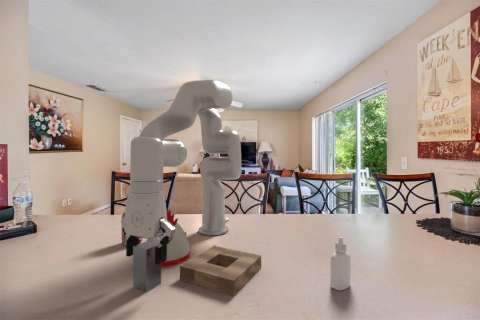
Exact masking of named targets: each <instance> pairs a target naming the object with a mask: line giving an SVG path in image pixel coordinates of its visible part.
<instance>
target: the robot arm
mask: <svg viewBox="0 0 480 320" xmlns="http://www.w3.org/2000/svg"><path fill="white" fill-rule="evenodd" d="M232 103H233V91H232V90H231V88H230V87H229V86H228V85H227V84H225V83H223V82H221V81H218V80H216V79H215V80H214V79H204V80H202V79H201V80H191V81H186V82H184V83H183V84H182V85H181V86H180V87H179V89H178V91H177V92H176V95H175V97H174V99H173V101H172V103H171V105H170V106H169V108H168V109H167V110H166V111H165V112H163V113H161V114H160V115H159V116H156V118H154V119H153V120H151V121H150V122H149V123H147V124H146V125H145V127H144V128H143V129H142V131H141V132H140V134H139V136H137V137H133V138H132V139H131V141H130V151H129V152H130V155H129V156H130V157H129V158H130V159H129V161H130V162H129V163H130V165H129V166H130V167H129V168H130V169H129V170H130V171H129V172H130V173H129V180H130V181H129V182H130V183H129V193H128V194H127V199H126V203H125V210H124V211H125V218H124V219H123V220H122V219H121V220H120V223H121V227H123V232H124V234H125V240H127V241H126V245H125V247H126V249H125V250H126V251H125V255H126V257H128V258H129V257H133V246H136V245H138V244H140V243H139V237H141V238H142V239H146V240H148V239H151V238H153V239H154V241H155V243H156V245H157V247H155V264H156V265H158V264H160V263H162V262H164V261H166V260H167V244H169V242H170V241H171V240H172V238H173V237H172V236H173V235H174V232H175V228H174V227H173V226H172V225H171V224H170V223H168V222H167V213H168V210H167V211H166V209H167V203H166V197H165V193H164V168H167V167H168V168H175V167H179V166H181V165H182V164H184V163H185V161H186V159H187V156H188V150H187V147H186V145H185V144H184V143H183V142H182V141H180V140H179V139H174V138H173V139H172V138H170V139H168V137H169V136H171V135H172V136H173V135H175V134H177V133H180V132H182V131H186V130H187V129H189V128H191V127H192V126H193V125H194V124H195V121H196V119H197V116H198V118H199V122H200V129H201V131H200V133H201V134H200V135H201V144H202V145H201V146H202V150H203V152H204V153H206V154H212V155H213V154H216V155H217V154H218V155H221V154H222V155H223V154H224V155H226V154H227V156H206V157H204V158H203V159H201V161H200V164H199V171H200V177H201V186H202V187H201V190H202V191H201V195H202V196H201V198H202V199H201V202H202V203H201V211H202V212H201V217H202V218H201V226H200V227H198V231H197V232H198V233H199V234H201V235H202V236H219V235H224V234H226V233H228V232H229V227H228V226H226V224H227V223H229V221H230V219H229V217H225V215H226V211H225V210H226V209H225V208H226V207H225V206H226V201H225V200H226V196H225V194H226V193H225V192H226V190H225V186H224V184H222V183H223V182H221V180H227V181H228V180H229V181H231V180H233V181H234V180H238V179H239V178H240V177H241V175H242V170H243V168H242V146H241V145H242V143H241V137H240V135H239V133H238V132H237V131H235V130H229V129H228V130H225V129H223V127H222V117H221V115H220V114H219V112H218V111H217V109H220V110H221V109H228V108H229V107H230V106H231V105H232ZM166 138H167V139H166ZM165 233H166V234H165ZM160 236H161V238H162V240H160V238H159V237H160Z"/></svg>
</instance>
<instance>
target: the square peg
mask: <svg viewBox="0 0 480 320" xmlns="http://www.w3.org/2000/svg"><path fill="white" fill-rule="evenodd" d="M155 247H157V245H156V243H155V242H152V241H146V240H145V241H144V242H143V241H142V242H140V243H139V244H138V245H136V246H133V255H132V260H133V261H132V263H133V265H132V268H133V269H132V274H133V275H132V276H133V277H132V282H133V283H132V285H133V286H132V287H133V289H135V290H139V291H141V292H144V293H148V292H150V291H151V290H153V289H154V288H156V287H158V286H159V285H161V284H162V267H161V263H160V264H158V265H156V264H155Z"/></svg>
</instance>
